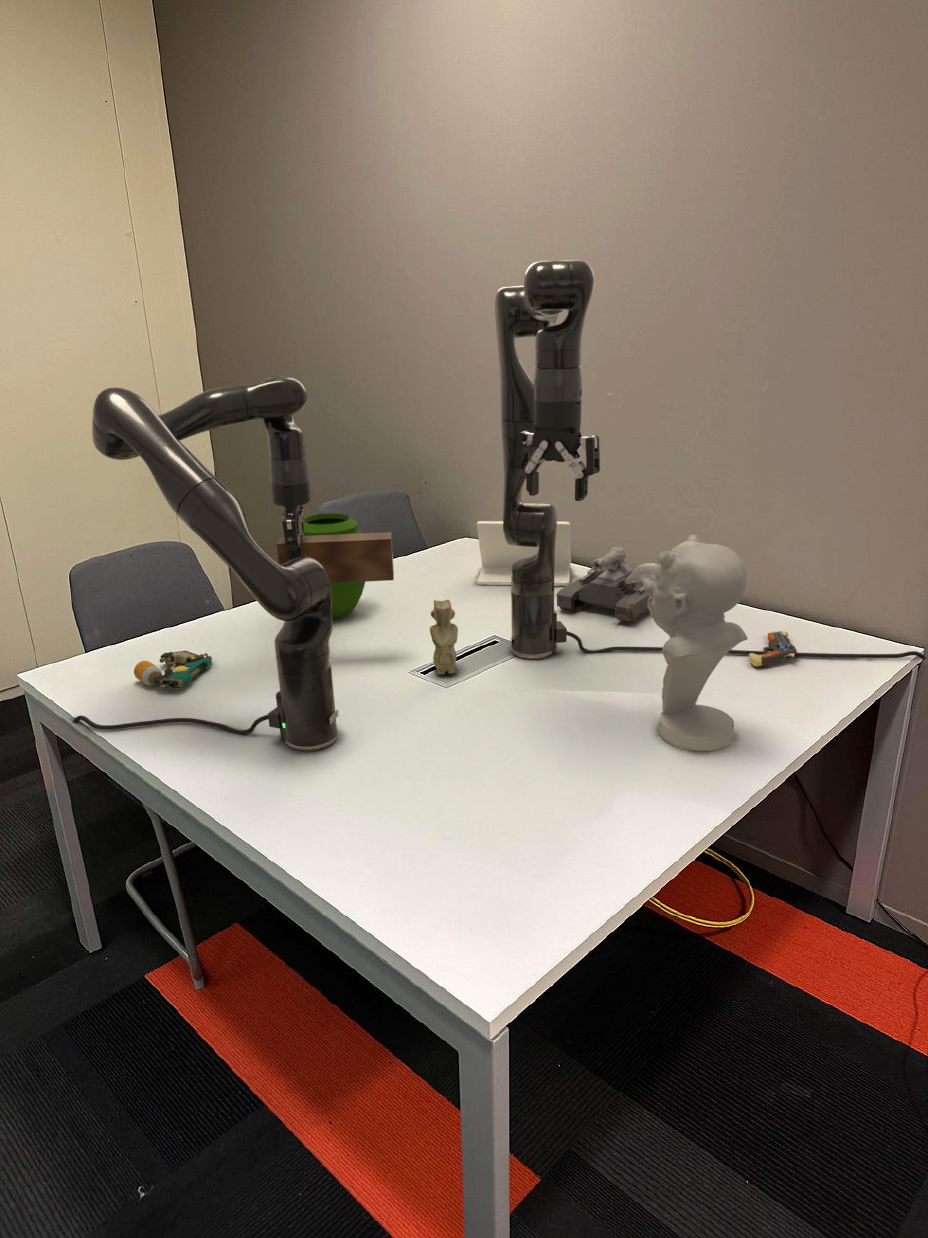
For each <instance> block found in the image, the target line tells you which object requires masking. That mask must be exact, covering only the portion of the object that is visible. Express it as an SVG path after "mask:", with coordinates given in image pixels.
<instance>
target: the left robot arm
mask: <svg viewBox="0 0 928 1238" xmlns="http://www.w3.org/2000/svg"><path fill="white" fill-rule="evenodd" d="M307 402H308V392H307V390H306V387H305V385H304V384H303V383H302V382H301V381H299V379H296V378H293V377H290V376H281V375H270V376H267V377H265V378H263V380H262V381H261V382H260V383H237V384H231V385H230V384H229V385H225V386H221V387H215V388H211V389H207V390H204V391H203V392H201V393H198V394H196V395H194V396H193V397H191V398H190V399H188V400H186V401H184V402H183V403H181V404H180V405H178V406H176V407H174V408H173V409H170V410H168V411H166V412H164V413H161V414H158V413H156V411H155V410H154V409H153V408H152V406H150V404H149V403H148V402H147V401H146V400H145V399H144V398H142V397H141V396H140V395H138V394H137V393H135V392H133V391H131V390H130V389H126V388H123V387H115V386H114V387H107V388H105V389H103V390H102V391H100V392H99V393H98V395H96V397H95V400H94V402H93V408H92V424H91V425H92V426H91V435H92V437H91V438H92V442H93V445H94V447H95V449H96V450H97V451H98V452H99V453H100V454H101V455H103V456H104V457H106V458H109V459H111V460H116V461H117V460H118V461H125V460H131V459H134V458H138V457H140V458H141V460H142V461H143V462H144V463H145V465H146V466H147V468H148V469H149V471H150V474H151V475H152V477H153V479H154V481H155V483H156V485H157V487H158V488H159V491H160V492H161V494H162V496H163V498H164V499H165V501H166V502H167V504H168V506H169V507H170V508H171V510H172V511H173V512H174V513H175V514H176V516H177V517H178V518H179V519H180V520H181V521H182V522H183V523H184V524H185V525H186V526H187V527H188V528H189V529H190V530H191V531H192V532H194V533H195V534H196V535H197V536H198V537H199V538H200V539H201V540H202V541H203V542H204V543H205V544H206V545H207V546H208V547H209V548H210V549H211V550H212V551H213V552H214V553H215V554H216V555H217V556H218V557H219V558H220V559H221V560H222V561H223V562H224V563H225V564H226V566H227V567H228V568H229V569H230V570H231V572H233V573H234V575H235V576H236V577H237V578H238V580H239V581H240V582H241V583H242V584H243V586H244V587H245V588H246V589H247V591H248V592H249V593H250V594H251V595H252V597H253V598H254V600H255V601H256V602H257V603H258V604H259V605H260V607H262V608H263V609H264V610H265V611H266V612H267V614H269V615H270V616H272V617H273V618H275V619H276V620H279V621H281V622H284V623H283V625H282V627H281V628H280V630H279V631H278V633H277V634H276V636H275V638H274V652H275V653H274V654H275V661H276V666H277V667H276V668H277V669H276V670H277V677H278V686H279V690H278V691H277V692H276V693H275V701H276V707H275V708H273V709H272V710H270V711H269V712H268V713H267V714H265V715H262V716H260V717H258V718H256V719H255V720H254V721H253V722H252V723H251V725H250V726H249V728H247V729H237V728H233V727H231V726H229V725H226V724H223V723H220V722H215V721H210V720H205V719H200V718H193V717H171V718H161V719H152V720H145V721H144V720H143V721H134V722H128V723H121V724H110V725H109V724H106V725H105V724H98V723H96V722H94V721H92V720H91V719H89V718H88V717H87V716H85V715H81V714H80V715H78V716H76V717H75V718H74V719H73V720H72V723H79V721H82V722H83V723H85V724H86V725H87V726H89V727H91V728H92V729H95V730H100V731H101V730H102V731H103V730H104V731H113V730H114V731H115V730H121V729H128V728H137V727H146V726H147V727H148V726H155V725H162V724H163V725H164V724H172V723H187V724H190V723H191V724H198V725H203V726H207V727H212V728H218V729H221V730H224V731H226V732H228V733H231V734H235V735H241V736H244V735H249V734H251V733H253V732H254V730H255V729H256V727H258V725H259V724H261V723H262V722H264V721H267V720H268V726H269V727H270V728H273V729H278V730H279V736H280V741H281V742H282V743H285V745H286V746H287V747H288V748H290V749H292V750H295V751H298V752H299V751H300V752H312V751H318V750H319V751H320V750H322V749H323V750H324V749H325V748H328V747H329V746H332V745H333V744H334V743H336V741H337V740H338V738H339V730H338V725H337V724H338V723H337V718H338V717H339V708H337V709H336V703H335V701H336V700H335V691H334V680H333V670H332V669H333V668H332V661H331V650H330V639H331V635H332V632H333V619H332V598H331V587H330V582H329V578H328V575H327V573H326V571H325V569H324V568H323V566H322V565H321V564H320V563H319V562H318V561H317V560H315V559H313V558H311V557H305V556H303V557H301V556H300V536H304V534H303V533H304V531H305V529H304V519H305V511H304V505H307V504H308V503H310V502H311V487H310V475H309V466H308V462H307V457H306V456H307V455H306V445H305V443H306V442H305V435H304V432H303V430H302V428H301V427H300V426H298V425H297V424H296V422H295V418H294V415H296V414H298V413H300V412H301V411H302V410H303V409H304V407H305V406H306V404H307ZM255 420H262V423H263V426H264V429H265V431H266V434H267V443H268V444H267V445H268V456H269V477H270V487H271V497H272V503H273V504H274V505H276V506H278V507H283V508H284V510H283V513H282V514H281V520H282V521H281V524H282V529H283V537H285V546H286V547H287V548H288V550H289V561H288V562H285V563H283V564H281V565H279V563H278V562H276V561H275V560H274V559H273V558H272V557H270V555H268V554H267V553H266V551H264V550H263V548H262V547H261V546H260V545H259V544H258V543H257V542H256V540H255V539H254V537H253V535H252V532H251V529H250V526H249V522H248V519H247V516H246V512H245V510H244V507H243V505H242V503H241V501H240V499H238V497H237V496H236V495H235V494H234V493H233V492H232V491H231V490H230V489H229V488H228V487H227V486H226V485H225V484H224V483H223V482H222V481H221V480H220V479H219V478H218V477H217V476H216V475H215V474H213V472H211V471H210V470H209V469H208V468H207V467H206V466H205V465H204V464H203V463H202V462H201V461H200V460H199V459H198V458H197V457H196V456H195V455H194V454H193V453H192V452H191V451H190V450H189V449H188V448H187V447H186V445H184V444H183V443H182V442H181V441H182V440H185V439H188V438H190V437H193V436H196V435H199V434H201V433H205V432H209V431H212V430H215V429H219V428H220V429H221V428H224V427H230V426H234V425H240V424H243V423H248V422H251V421H255ZM290 537H294V538H295V541H290ZM281 742H280V743H281Z"/></svg>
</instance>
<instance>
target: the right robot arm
mask: <svg viewBox="0 0 928 1238" xmlns="http://www.w3.org/2000/svg"><path fill="white" fill-rule="evenodd" d="M594 288H595V275H594V271H593V269H592V267H591V266H590V264H589V263H588V262H586V261H585V260H581V259H566V260H565V259H564V260H540V261H535V262H533V263H531V264H530V265H529V266H528V268H526V272H525V275H524V279H523V285H516V286H503V287H501V288H499V289H498V290H497V291H496V295H495V300H494V316H495V327H496V328H495V330H496V339H497V340H496V341H497V349H498V351H497V352H498V360H499V361H498V363H499V376H500V377H499V378H500V424H501V425H500V429H501V442H502V459H503V502H502V503H503V505H502V506H503V508H502V509H503V510H502V521H503V532H504V538H505V540H506V542H507V543H508V544H509V545H513V546H524V547H538V553H537V554H535V555H533V556H531V557H528V558H524V559H521V560H518V561H516V562H515V563H513V565H512V567H511V585H510V588H511V589H510V597H511V599H510V603H511V604H510V606H511V607H510V609H511V610H510V615H511V617H510V618H511V621H510V622H511V640H510V645H511V646H510V651H511V653H512V655H513V656H515V657H518V658H521V659H525V660H526V659H527V660H540V659H545V658H548V657H550V656H552V655H557V654H558V653H557V650H558V649H557V648H558V647H557V645H558V644H561V643H567V640H568V639H567V638H568V637H570V638H572V639H574V640H575V641H576V642H577V645H578V648H579V650H580V651H581V652H582V653H584V654H603V653H608V652H609V653H610V652H615V651H616V652H617V651H618V652H620V651H623V652H624V651H627V652H629V651H634V652H662V649H663V646H609V647H605V648H600V649H595V650H592V649H589V648H588V649H587V648H585V647H584V644H583V641H582V639H581V638H580V637H579V636H578V634H576V633H573V632H571V631H569V630H568V628H567V627H566V625H564V624H563V622H562V621H561V620H558V613H557V612H556V611H555V586H554V567H555V542H556V529H557V522H558V517H557V515H558V514H557V510H556V507H555V506H554V504H552V503H549V502H548V503H546V502H531V501H530V502H529V501H522V492H523V487H524V484H525V483H526V485H525V489H526V492H528V496H532V497H535V496H537V495H539V492H540V472H539V471H538V470H539V468H540V467H541V466H542V464H543V463H544V462H552V461H554V462H557V463H564V462H565V463H566V465H567V466H568V467H569V468H571V469H572V471H573V473H574V474H575V476H576V478H575V479H574V501H575V502H581V501H583V500H585V498H586V497H587V496H588V493H589V492H588V491H589V478H590V477H591V476H593V475H596V474H598V473H600V471H601V457H600V456H601V455H600V454H601V453H600V451H601V450H600V437H599V436H598V435H595V434H594V435H591V436H583V435H582V434H581V426H582V396H583V385H582V384H583V383H582V382H583V381H582V380H583V379H582V373H581V363H582V362H581V361H582V360H581V359H582V356H581V355H582V354H581V352H582V336H583V330H584V325H585V320H586V316H587V313H588V310H589V306H590V303H591V299H592V296H593V294H594V293H593V292H594ZM563 311H567V315H566V317H565V319H564V320H563V321H562V322H560V323H558V324H556V323H557V321H558V317H559V315H560V314H561V313H562V312H563ZM525 338H535V371H534V378H533V380H532V378H531V377H530V376H529V374H528V372H527V371H526V369H525V368H524V366H523V364H522V362H521V359H520V357H519V355H518V352H517V349H516V344H515V342H516V341H515V340H516V339H525ZM581 446H582V449H583V450H584V451H585V459H584V457H583V456H582V454H581V452H580V451H579V448H580V447H581ZM767 652H769V651H767ZM750 653H754V654H756V655H758V654H763V650H742V649H731V650H730V651H729V652H728V653H727V654H728V655H742V656H743V655H746V656H749V654H750ZM727 654H726V655H727ZM910 656H915V657H916V656H917V657H918V658H920V659H922V660H926V659H927V657H926V656H925V655H924V654H923V653H921V652H920V651H916V650H912V651H911V650H910V651H905V652H900V653H827V652H826V653H825V652H822V653H821V652H798V653H795V655H794V657H792V656H790V657H792V658H823V659H824V658H827V659H830V658H831V659H833V658H834V659H902V658H906V657H910Z"/></svg>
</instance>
